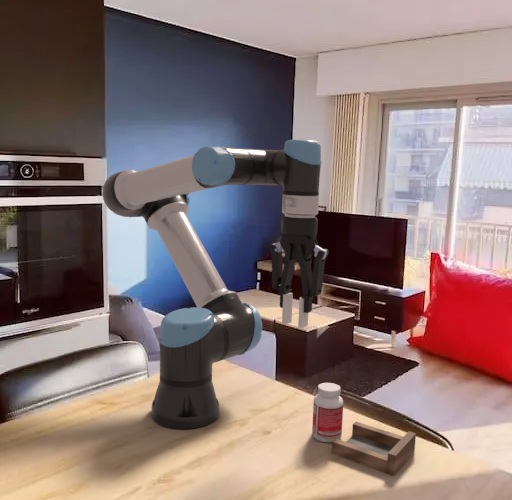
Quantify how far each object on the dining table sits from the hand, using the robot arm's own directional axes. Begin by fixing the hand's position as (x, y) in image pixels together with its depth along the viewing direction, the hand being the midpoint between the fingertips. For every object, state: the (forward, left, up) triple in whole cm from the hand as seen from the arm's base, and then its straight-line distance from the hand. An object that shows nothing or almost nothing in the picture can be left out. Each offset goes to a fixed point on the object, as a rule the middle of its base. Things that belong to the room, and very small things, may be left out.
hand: (294, 324), depth 117 cm
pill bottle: (+9, 0, -23) cm, 24 cm away
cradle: (+19, 0, -23) cm, 29 cm away
